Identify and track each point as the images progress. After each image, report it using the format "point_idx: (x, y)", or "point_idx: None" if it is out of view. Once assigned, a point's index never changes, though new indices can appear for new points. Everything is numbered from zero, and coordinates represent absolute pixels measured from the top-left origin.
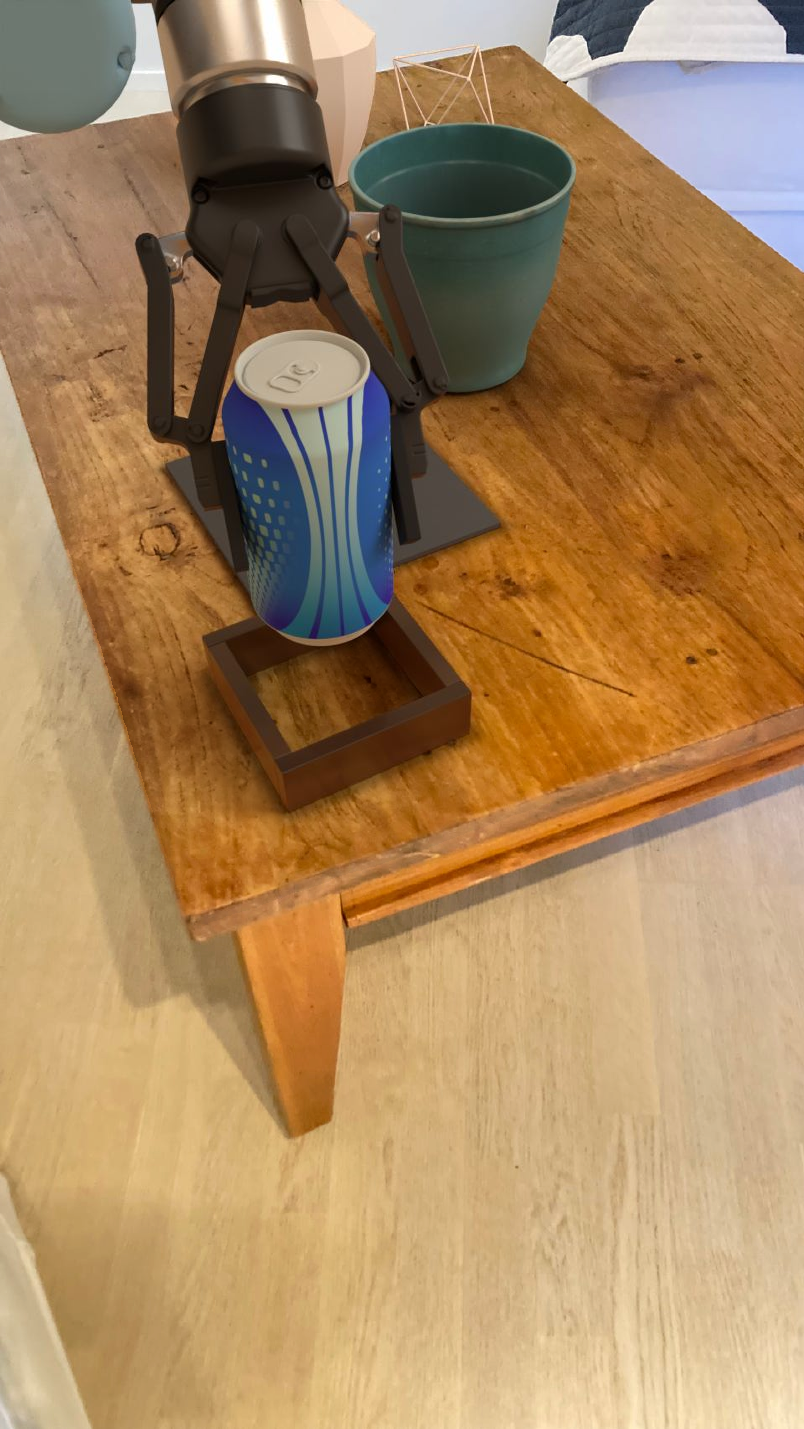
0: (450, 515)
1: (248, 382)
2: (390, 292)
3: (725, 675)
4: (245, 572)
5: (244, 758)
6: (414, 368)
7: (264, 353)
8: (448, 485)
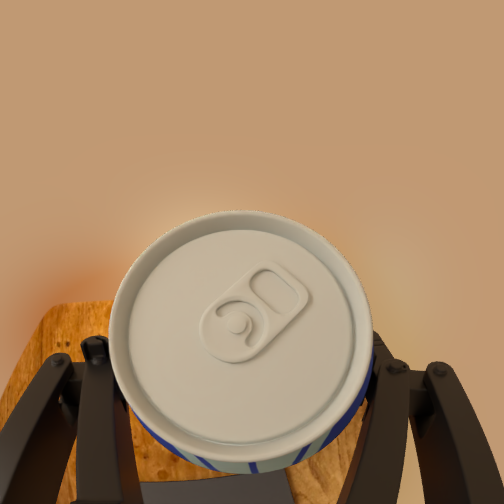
0: None
1: (345, 314)
2: (30, 477)
3: (61, 329)
4: (287, 499)
5: None
6: (72, 421)
7: (303, 409)
8: None
